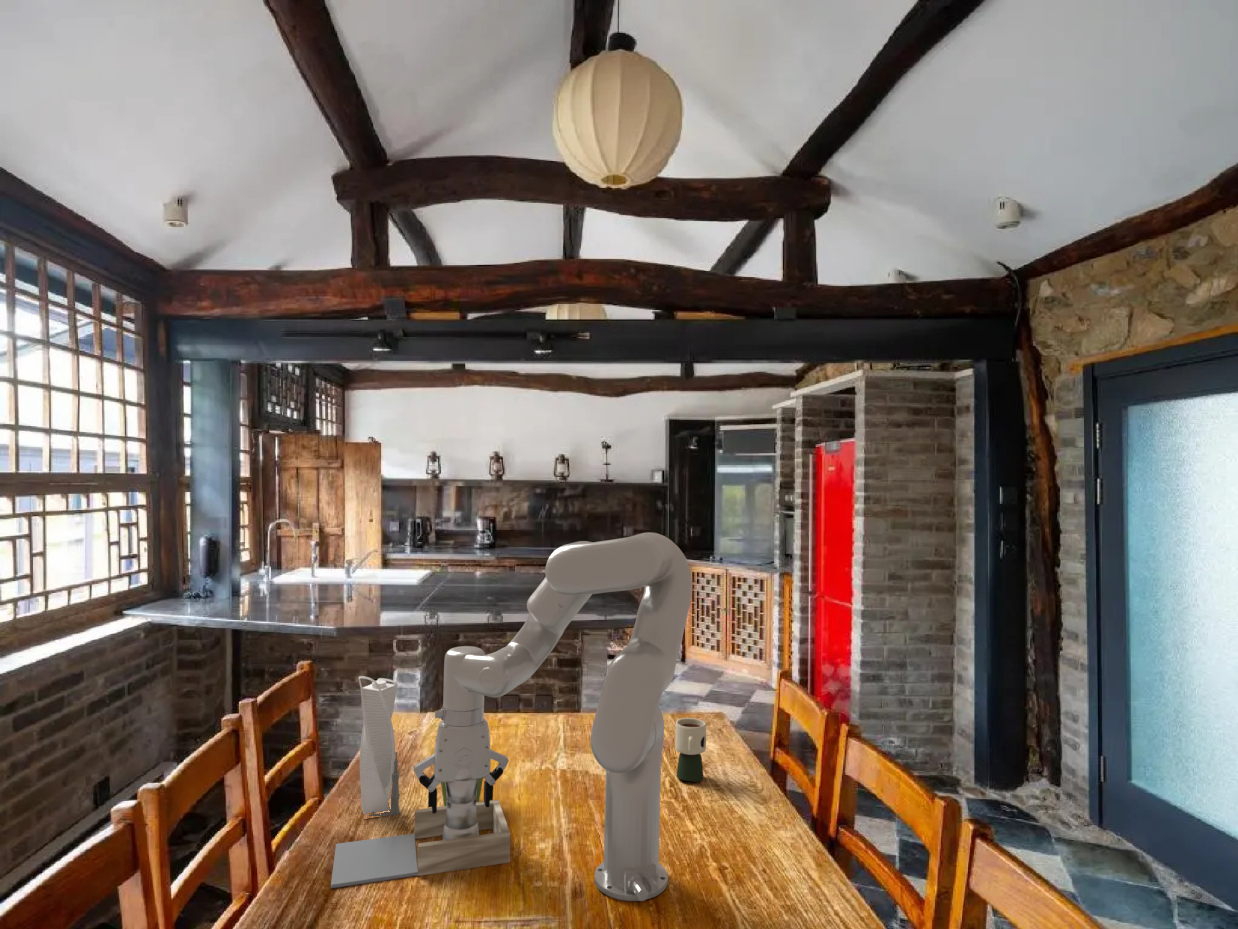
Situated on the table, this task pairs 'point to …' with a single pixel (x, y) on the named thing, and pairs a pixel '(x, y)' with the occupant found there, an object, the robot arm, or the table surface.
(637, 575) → the robot arm
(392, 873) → the tile
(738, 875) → the table surface
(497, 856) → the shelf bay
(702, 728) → the character mug
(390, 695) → the skyscraper
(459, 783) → the plastic bottle
